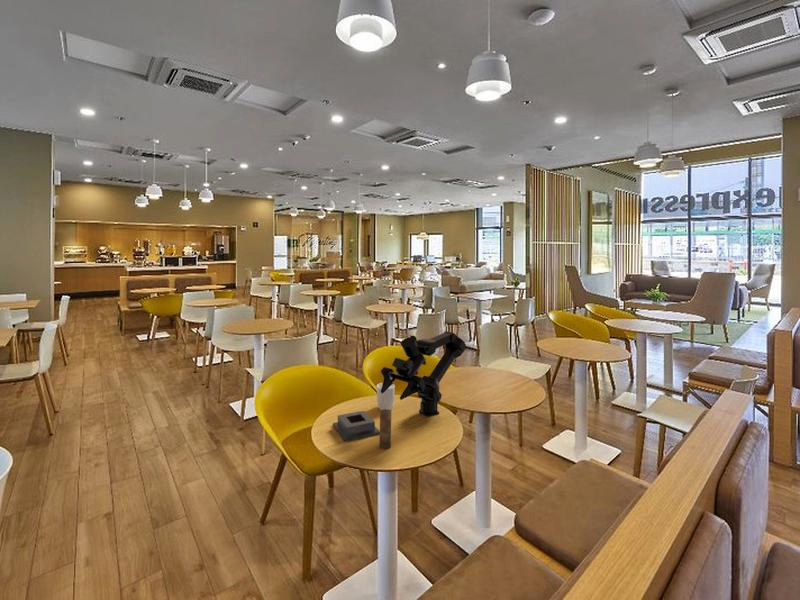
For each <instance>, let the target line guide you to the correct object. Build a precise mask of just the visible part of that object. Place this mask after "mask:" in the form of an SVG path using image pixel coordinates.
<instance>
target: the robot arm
mask: <svg viewBox="0 0 800 600" xmlns="http://www.w3.org/2000/svg"><path fill="white" fill-rule="evenodd" d="M400 346H401V348H402V350H403V352H404V355H405V356H406V357H408V358H407V359H406V360H404V359H403V358H398V357H395V358H394V359H393V362H392V363H391V366H392V367H394V368H396V369H395V371H396V372H394V369H393V368H390V367H387V366H383V367H382V368H381V369H380V373H381V375H382V376H383V377H382V378H383V382H382V383H383V385H382V389H381V393H384V392H385V391H386V390H387V389H388V388H389V387H390V386H391V385H392V384H394V383H393V382H395V381H396V380H399V381H401V382H405V383H407V386H406V387H405V388H404V390H403V392H402V393H401V395H400V396H399V400H400V401H401V400H403V399H406V398H408V397H409V396H412V395H414V394H417V395H418V398H420V399H421V401H420V403H419V404H420V408H419V410H418V411H419V412H420V413H422V414H423V415H424V416H426V417H430V416H435V415H439V414H440V412H439V410H438V406H439V402H440V400H442V395H443V394H442V393H441V391H440V382H441V380H442V379H443V377H444V376H445V375H446V373H447V371H448V370H449V368H450V366H451V365H452V363H453V362H454V360H455V359H457V358H458V357H459V358H460V357H461V356H462V355H463V354H464V352H465V351H466V349H467V344H466V343H465V341H464V340H463V339H462V338H461V337H459V336H458V335H457V334H456V333H454V332H452V331H448V330H447V331H443V332H442V333H440V334H438V335H436V336H434V337H431V338H423V339H418V340H417V336H416V335H410V336H408V337H405V338H403V339H402V340H401V342H400ZM443 346H444V348H445V351H444V353H443V355H442V357H441V358H440V359H439V361H438V362H437V364H436V366H435V367H434V368H433V370H432V372H431V373H430V374H429V375H423V376H419V375H418V374H419V369H420V367H421V366H422V365H424V366H426V365H427V361H426V357H425V356H428V357H431V356H432V355H434V354H435V353H436V350H438V349H439V348H441V347H443Z"/></svg>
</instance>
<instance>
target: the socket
mask: <svg viewBox="0 0 800 600" xmlns="http://www.w3.org/2000/svg"><path fill="white" fill-rule="evenodd" d="M332 426H334V427H333V428H334V429H335V431H336V432H337V434H339V436H340V438H341V439H342V440H343V442H344V441H346V442H349V441H354V440H359V439H363V438H369V437H373V436H376V435H380V429H378V428H377V427H376V422H375V421H374V419H373V418H372V417H370V415H369V414H368V413H367V412H366V411H365V410H361V411H356V412H350V413H344V414H337V422H332Z"/></svg>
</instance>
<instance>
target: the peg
mask: <svg viewBox="0 0 800 600" xmlns="http://www.w3.org/2000/svg"><path fill="white" fill-rule="evenodd" d="M379 431H380V434H379V448H380V449H382V450H389V449H390V448H391V447H392V444H391V443H392V410H387V409H385V410H380V411H379Z"/></svg>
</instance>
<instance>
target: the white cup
mask: <svg viewBox="0 0 800 600" xmlns="http://www.w3.org/2000/svg"><path fill="white" fill-rule="evenodd" d="M382 385H383V382H380V383H377V385H376V400H377V401H376V402H377V409H378V408H379V409H378V410H380V409H381V410H385V409H387V410H390V411H392V410H393V409H394V402H395V394H396V393H395V388H396V385H395V384H394V383H393V384H392V385H391V386H390V387H389V388H388V389H387V390H386V391H385V392H384V393H381V389H382ZM392 408H393V409H392ZM381 410H380V411H381Z"/></svg>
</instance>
